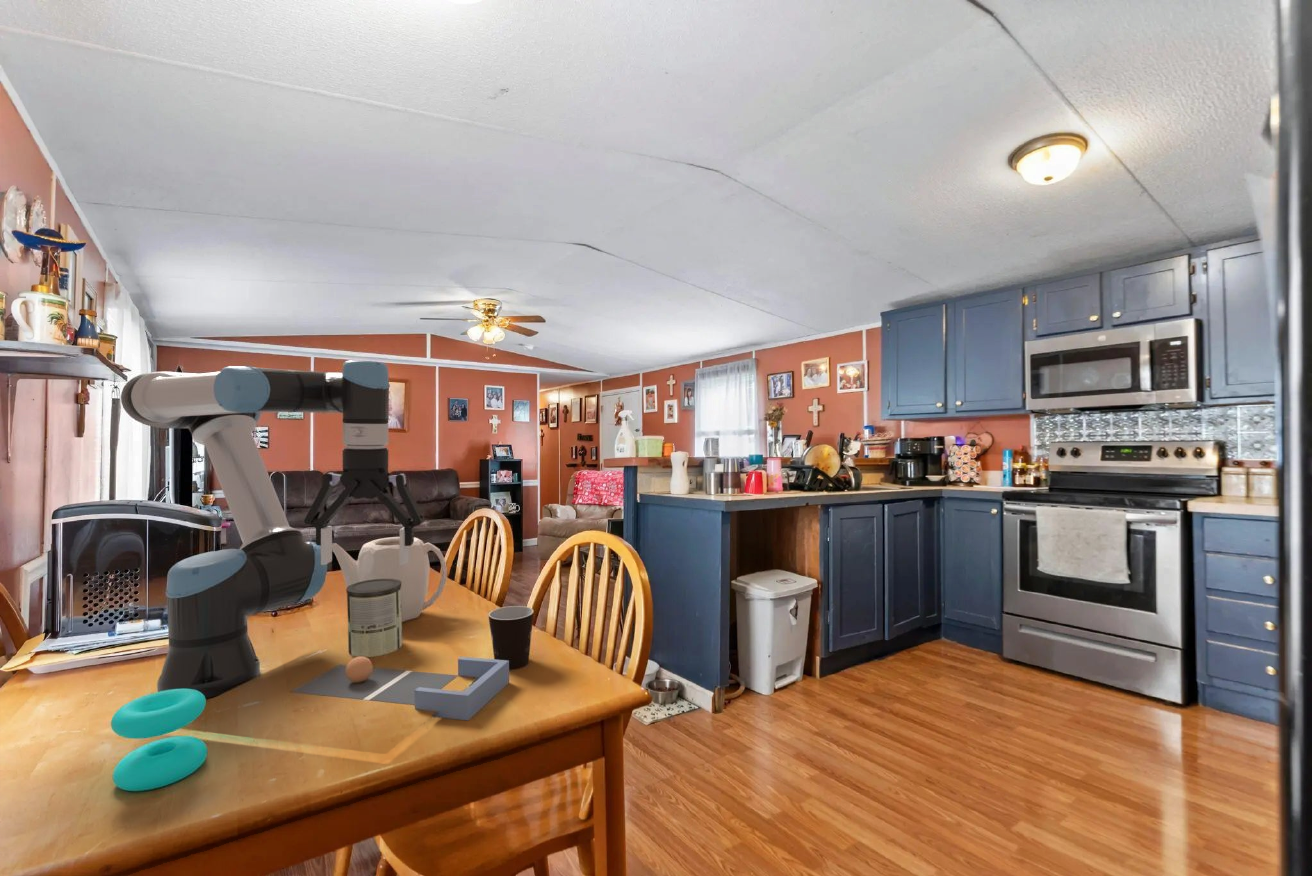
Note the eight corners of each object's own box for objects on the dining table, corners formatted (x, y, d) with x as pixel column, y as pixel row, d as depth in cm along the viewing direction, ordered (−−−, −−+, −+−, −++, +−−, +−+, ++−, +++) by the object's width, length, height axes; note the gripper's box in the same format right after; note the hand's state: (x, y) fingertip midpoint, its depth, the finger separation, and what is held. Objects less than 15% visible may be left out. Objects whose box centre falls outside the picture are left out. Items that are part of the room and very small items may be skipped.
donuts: (223, 687, 87) (156, 721, 77) (225, 756, 88) (158, 799, 78) (163, 682, 89) (89, 715, 79) (165, 750, 89) (92, 792, 79)
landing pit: (414, 714, 99) (414, 690, 99) (461, 677, 113) (461, 656, 113) (468, 720, 97) (467, 695, 97) (509, 682, 111) (508, 660, 111)
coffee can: (338, 654, 126) (337, 586, 125) (387, 640, 134) (386, 575, 133) (362, 666, 119) (360, 594, 119) (412, 651, 127) (411, 583, 127)
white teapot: (340, 612, 154) (338, 537, 153) (451, 604, 159) (450, 532, 158) (319, 633, 138) (316, 549, 138) (443, 624, 144) (441, 544, 143)
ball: (339, 685, 108) (339, 661, 108) (357, 675, 113) (356, 651, 112) (361, 687, 107) (361, 662, 107) (378, 677, 112) (377, 653, 111)
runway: (290, 697, 106) (290, 691, 106) (340, 669, 118) (340, 664, 118) (419, 711, 101) (419, 705, 101) (458, 680, 112) (458, 675, 112)
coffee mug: (523, 673, 115) (522, 620, 115) (481, 670, 117) (480, 618, 117) (546, 650, 127) (546, 602, 126) (507, 647, 128) (507, 600, 128)
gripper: (282, 446, 106) (282, 568, 107) (431, 449, 108) (429, 568, 109) (303, 444, 114) (303, 557, 115) (442, 447, 116) (440, 558, 117)
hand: (365, 563), depth 112 cm, fingers open, 13 cm apart
